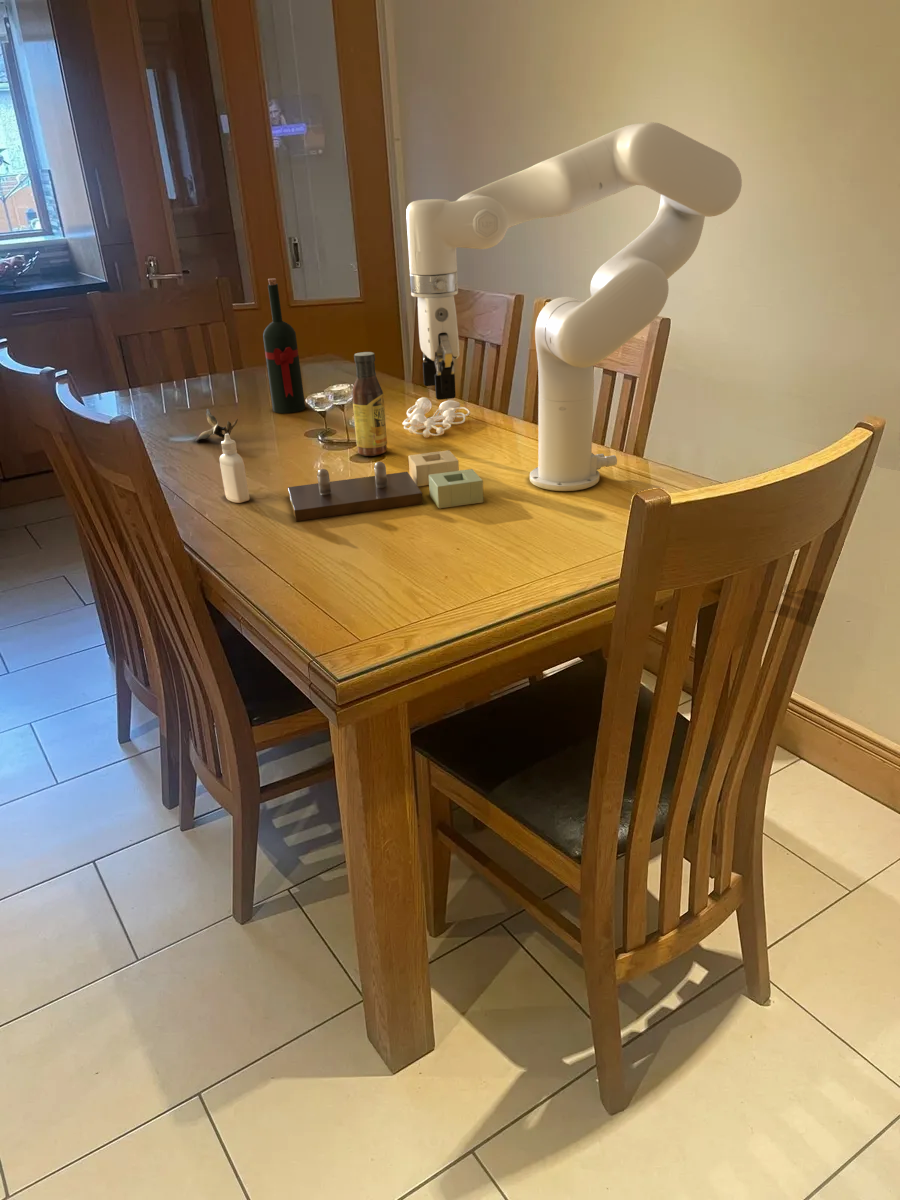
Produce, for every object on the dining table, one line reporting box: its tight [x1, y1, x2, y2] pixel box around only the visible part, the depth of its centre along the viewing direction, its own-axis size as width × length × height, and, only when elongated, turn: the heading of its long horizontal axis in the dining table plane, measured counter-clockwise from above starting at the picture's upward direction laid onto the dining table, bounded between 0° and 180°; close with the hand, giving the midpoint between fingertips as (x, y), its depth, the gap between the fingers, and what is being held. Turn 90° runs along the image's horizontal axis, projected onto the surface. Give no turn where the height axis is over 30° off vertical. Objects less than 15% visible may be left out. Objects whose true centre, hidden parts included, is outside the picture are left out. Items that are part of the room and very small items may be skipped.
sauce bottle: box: [351, 351, 388, 457], centre depth 172 cm, size 6×6×20 cm
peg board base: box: [287, 461, 424, 522], centre depth 151 cm, size 22×12×6 cm, turn 105°
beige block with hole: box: [407, 449, 460, 487], centre depth 160 cm, size 8×6×4 cm
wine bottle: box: [262, 277, 306, 414], centre depth 202 cm, size 8×10×30 cm
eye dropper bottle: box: [218, 433, 250, 504], centre depth 153 cm, size 4×6×12 cm
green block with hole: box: [428, 468, 484, 509], centre depth 150 cm, size 8×6×4 cm
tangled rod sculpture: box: [402, 396, 471, 439], centre depth 190 cm, size 19×14×4 cm
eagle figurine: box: [194, 408, 239, 442], centre depth 188 cm, size 8×7×9 cm
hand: (439, 391), depth 145 cm, fingers open, 9 cm apart
